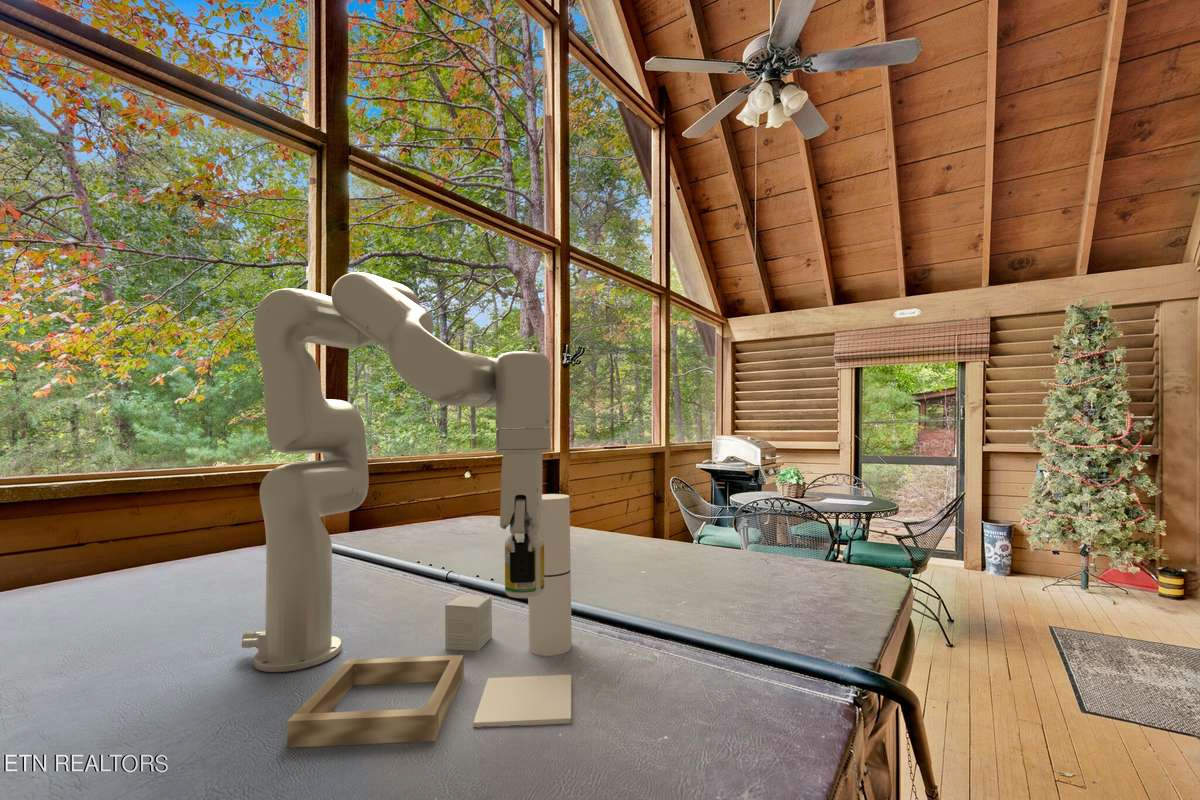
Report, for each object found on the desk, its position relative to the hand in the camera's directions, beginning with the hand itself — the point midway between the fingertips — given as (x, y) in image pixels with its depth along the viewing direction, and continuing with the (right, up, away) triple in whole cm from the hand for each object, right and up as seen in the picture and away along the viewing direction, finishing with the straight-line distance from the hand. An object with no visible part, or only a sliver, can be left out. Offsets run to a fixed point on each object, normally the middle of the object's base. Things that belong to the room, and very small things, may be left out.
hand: (524, 574), depth 74 cm
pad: (0, -17, -1) cm, 17 cm away
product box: (-12, -18, +19) cm, 29 cm away
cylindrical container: (+2, -18, +17) cm, 25 cm away
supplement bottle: (0, -3, 0) cm, 3 cm away
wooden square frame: (-18, -17, -2) cm, 25 cm away
